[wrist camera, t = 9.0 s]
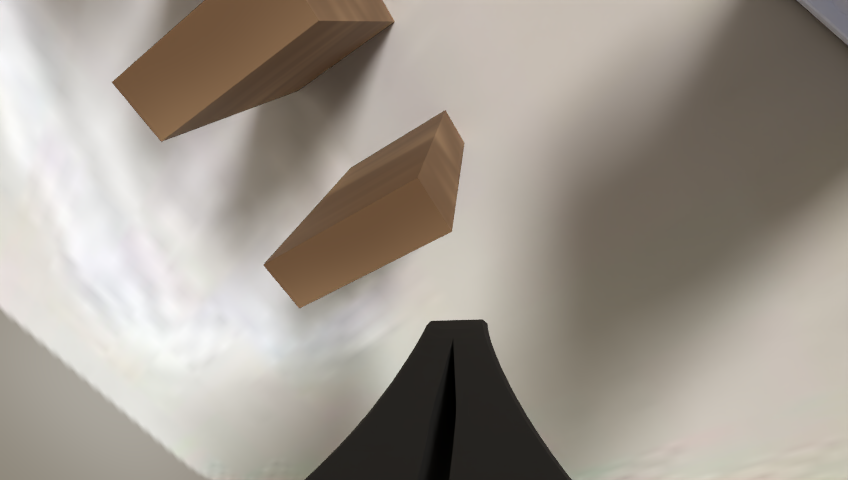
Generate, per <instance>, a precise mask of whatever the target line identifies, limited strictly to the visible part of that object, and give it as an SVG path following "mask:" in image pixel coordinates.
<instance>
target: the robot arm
mask: <svg viewBox="0 0 848 480" xmlns="http://www.w3.org/2000/svg"><path fill="white" fill-rule="evenodd" d="M797 1H798V2H799V3H800V4H801V5H802V6H804V7H805V8H806V9H807V10H808V11H809V12H810V13H812V14H813V15H814V16H815V17H816V18H817V19H818V20H819V21H821V22H822V23H823V24H824V25H825V26H826V27H827V28H829V29H830V30H831V31H832V32H833V33H834V34H835V35H836V36H838V37H839V38H840V39H841V40H842V41H843V42H844V43H846V44H847V45H848V0H797ZM305 480H571V478H570V477H569V476H568V475H567V473H566V472H565V471H564V469H563V468H562V467H561V465H560V464H559V463H558V461H557V460H556V458H555V457H554V456H553V454H552V453H551V452H550V450H549V449H548V447H547V446H546V444H545V443H544V441H543V440H542V438H541V437H540V436H539V434H538V433H537V431H536V429H535V428H534V426H533V425H532V423H531V422H530V420H529V418H528V417H527V415H526V413H525V412H524V410H523V408H522V406H521V405H520V403H519V401H518V400H517V398H516V396H515V394H514V392H513V390H512V388H511V387H510V385H509V383H508V380H507V378H506V376H505V374H504V372H503V370H502V368H501V366H500V364H499V361H498V359H497V357H496V354H495V351H494V349H493V346H492V343H491V340H490V336H489V332H488V325H487V323H486V322H485V321H484V320H450V321H431V322H430V323H429V324H428V325H427V326H426V328H425V330H424V332H423V334H422V336H421V337H420V339H419V341H418V343H417V344H416V346H415V348H414V349H413V351H412V353H411V354H410V356H409V357H408V359H407V360H406V362H405V363H404V365H403V366H402V368H401V369H400V371H399V372H398V374H397V375H396V377H395V378H394V380H393V381H392V383H391V384H390V385H389V387H388V388H387V389H386V391H385V392H384V393H383V395H382V396H381V397H380V399H379V400H378V401H377V402H376V404H375V405H374V406H373V408H372V409H371V410H370V411H369V413H368V414H367V415H366V416H365V418H364V419H363V420H362V421H361V422H360V423H359V425H358V426H357V427H356V428H355V429H354V430H353V431H352V433H351V434H350V435H349V436H348V437H347V438H346V439H345V440H344V441H343V442H342V443H341V444H340V446H339V447H338V448H337V449H336V450H335V451H334V452H333V453H332V454H331V455H330V456H329V457H328V458H327V459H326V460H325V461H324V462H323V463H322V464H321V465H320V466H319V467H318V468H317V469H316V470H315V471H313V472H312V473H311V474H310V475H309V476H308V477H307V478H306V479H305Z"/></svg>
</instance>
